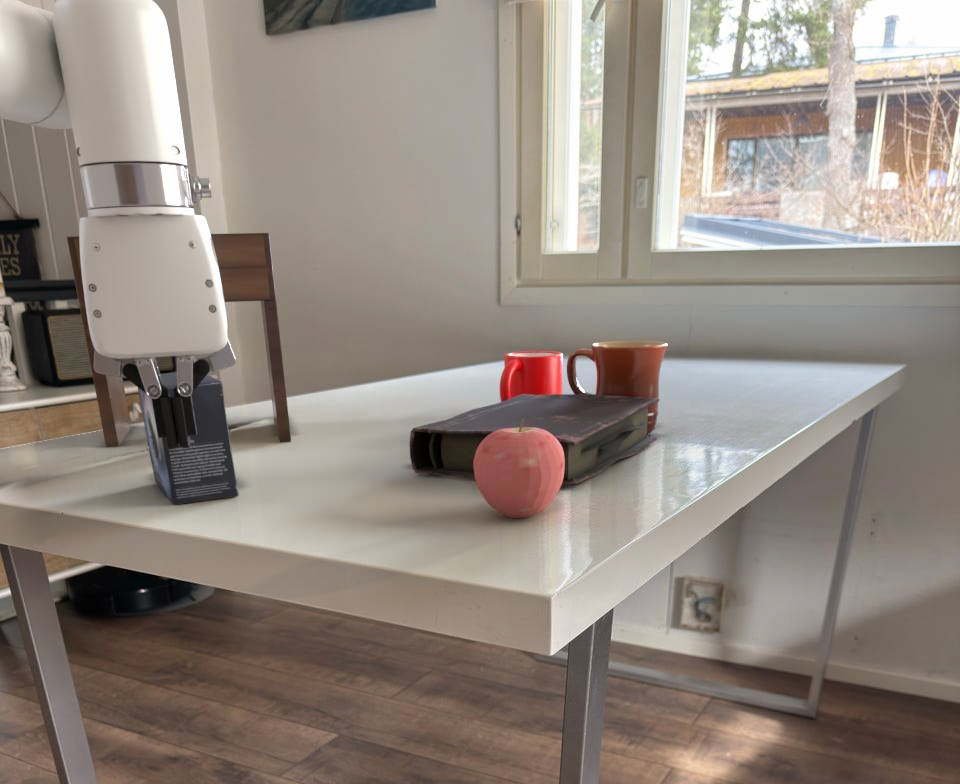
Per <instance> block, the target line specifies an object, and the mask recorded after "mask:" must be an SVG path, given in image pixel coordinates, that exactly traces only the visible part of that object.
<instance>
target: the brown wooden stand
mask: <svg viewBox="0 0 960 784" xmlns="http://www.w3.org/2000/svg"><path fill="white" fill-rule="evenodd" d="M210 234H211V237H212V241H213V245H214V249H215V253H216V258H217V262H218V267H219V273H220V278H221V284H222V289H223V295H224V300H225V303H239V302H242V303H243V302H260V307H261V317H262V327H263V332H264V333H263V334H264V342H265V343H264V344H265V351H266V352H265V353H266V361H267V370H268V379H269V388H270V397H271V404H272V414H273V424H274V427H275V430H276V435H277V438H278V443H289V442H292V437H291V426H290V417H289V408H288V397H287V390H286V379H285V370H284V369H285V368H284V360H283V351H282V341H281V333H280V332H281V331H280V323H279V322H280V321H279V313H278V305H277V294H276V284H275V275H274V265H273V258H272V247H271V239H270V233H269V232H246V233H245V232H242V233H238V232H237V233H210ZM66 242H67V246H68V251H69V257H70V262H71V268H72V273H73V279H74V284H75V288H76V295H77V300H78V303H79V304H78V305H79V310H80V315H81V321H82V327H83V333H84V336H85V337H84V338H85V342H86V347H87V353H88V360H89V364H90V370H91V375H92V380H93V385H94V390H95V395H96V401H97V406H98V412H99V417H100V423H101V426H102V432H103V433H102V434H103V438H104V445H105V448H117V447H120V445H121V444H122V442H123V440H124V439H125V437H126V436H127V434H128V432H130V429H131V428H132V425H131V419H130V412H129V408H128V402H127V401H128V400H127V396H126V391H125V390H126V389H125V386H124V385H125V384H124V378H122V377H115V376H109V375H104V374H99V373H97V372H96V371H95V370H94V367H93V365H94V346H93V343H92V340H91V336H90V331H89V326H88V319H87V312H86V305H85V297H84V289H83V281H82V271H81V260H80V241H79V236H77V235H75V236H74V235H73V236H66Z"/></svg>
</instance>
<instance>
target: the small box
mask: <svg viewBox="0 0 960 784" xmlns="http://www.w3.org/2000/svg"><path fill="white" fill-rule="evenodd" d="M160 375H161V379H162V382H163V385H165V386H166V387H167V388H168V394H169V395H170V396H172V398H173V396H174V388H175V386H176V385H177V371H175V372H168V373H160ZM137 391H138V397H139V402H140V408H141V414H142V419H143V425H144V431H145V437H146V441H147V447H148V451H149V457H150V462H151V463H150V464H151V468H152V472H153V476H154V481H155V483H156V484H157V485H158V487H159V488H160V489H161V491H162V492H163V493H164V496H166V498H167V499H168V500H169V501H170V503H171V504H172V505H173V506H175V505H176V506H177V505H181V504H189V503H197V502H204V501H205V502H206V501H213V500H218V499H226V498H235V497H238V496H240V492H239V486H238V480H237V475H236V470H235V464H234V458H233V451H232V444H231V438H230V432H229V431H230V430H229V425H228V420H227V419H228V418H227V411H226V404H225V403H226V402H225V394H224V393H225V392H224V384H223V382H222V381H221V380H219V379H217V378H215V377H213V376H212V375H209V374H207V375H206V376H205V378H204V379H203V380H202V381H201V383H200V384H199V385H198V386H197V388H196V389H195V390H194V391H193V393H192V394H191V395H192V401H193V408H194V414H195V421H196V427H197V435H192V436H190V446H189V448H182V447H180V446H179V445H178V447H176V449H168V443H167V437H164V438H159V437H158V433H157V427H156V422H155V416H154V410H153V404H152V398H150V397H148V396H147V394H146V393H145V392H144V391H142V390H141V389H140V388H138V387H137Z"/></svg>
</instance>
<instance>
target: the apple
mask: <svg viewBox="0 0 960 784" xmlns="http://www.w3.org/2000/svg"><path fill="white" fill-rule="evenodd" d="M524 420H525V419H524V418H523V420H522V422H521V425H520V428H505V429H500V430H497V431H494V432H493V433H491V434H489V435H488V436H487V437H486V438H484V440H483V441H482V442H481V443H480V445H479V446H478V448H477V450H476V454H475V457H474V463H473V467H474V474H475V478H474V479H475V483H476V486H477V488H478V490H479V492H480V494H481V496H482V498H483V499H484V501H485V502H486V503H487V504H488V505H489V506H490V507H491V508H492V509H493V510H494V511H496V512H498V513H499V514H501V515H503V516H506V517H508V518H512V519H521V518H530V517H533V516H536V515H538V514H540V513H542V512H544V511H545V510H546V509H547V508H548V507H549V506H550V505H551V504H552V503H553V502H554V500H555V499H556V498H557V495H558V493H559V491H560V489H561V487H562V486H563V485H562V482H563V478H564V469H565V458H564V451H563V448H562V446H561V444H560V443H559V441H558V440H557V439H556V438H555V437H554V436H553V435H552V434H551V433H549V432H547V431H546V430H543V429H540V428H534V427H523V423H524Z"/></svg>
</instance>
